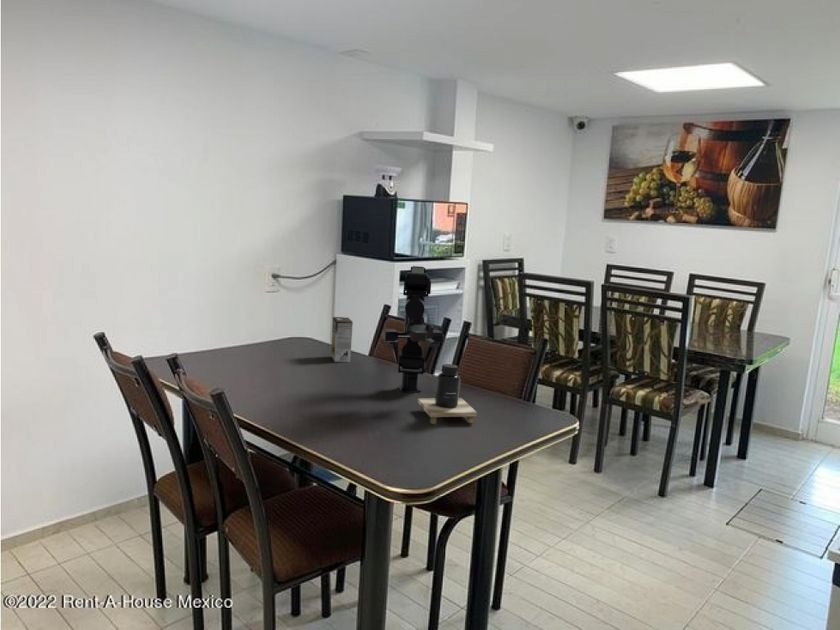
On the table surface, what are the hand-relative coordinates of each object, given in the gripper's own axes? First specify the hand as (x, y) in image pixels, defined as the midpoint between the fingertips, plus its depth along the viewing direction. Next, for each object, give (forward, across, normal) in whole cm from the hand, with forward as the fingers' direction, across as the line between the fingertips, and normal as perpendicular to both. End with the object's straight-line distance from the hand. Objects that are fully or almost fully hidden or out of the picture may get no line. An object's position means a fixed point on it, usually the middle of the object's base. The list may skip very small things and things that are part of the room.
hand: (411, 362), depth 199 cm
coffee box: (+13, -13, +57) cm, 60 cm away
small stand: (+13, +8, -14) cm, 21 cm away
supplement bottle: (+10, +8, -14) cm, 19 cm away
